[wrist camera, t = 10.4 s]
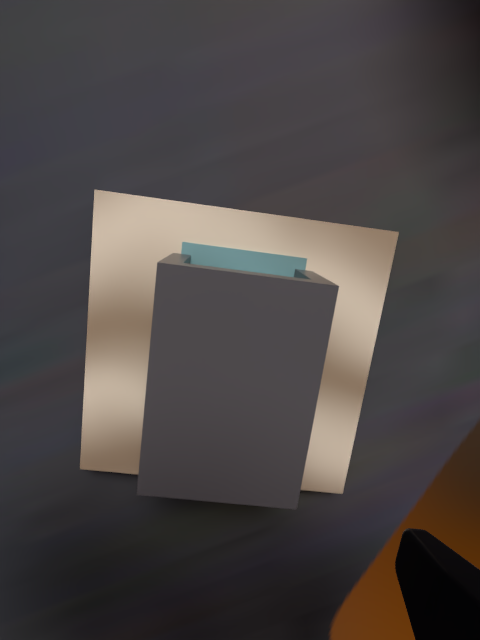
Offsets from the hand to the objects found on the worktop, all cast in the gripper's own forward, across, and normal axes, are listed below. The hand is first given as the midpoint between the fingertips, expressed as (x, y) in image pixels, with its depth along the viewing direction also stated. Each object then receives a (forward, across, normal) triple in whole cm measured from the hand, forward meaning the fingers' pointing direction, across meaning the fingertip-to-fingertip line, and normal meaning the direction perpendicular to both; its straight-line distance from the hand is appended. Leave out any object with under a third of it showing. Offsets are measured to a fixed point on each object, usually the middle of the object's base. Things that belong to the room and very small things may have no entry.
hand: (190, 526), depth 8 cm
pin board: (+11, -1, -1) cm, 11 cm away
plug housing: (+9, -1, -1) cm, 9 cm away
